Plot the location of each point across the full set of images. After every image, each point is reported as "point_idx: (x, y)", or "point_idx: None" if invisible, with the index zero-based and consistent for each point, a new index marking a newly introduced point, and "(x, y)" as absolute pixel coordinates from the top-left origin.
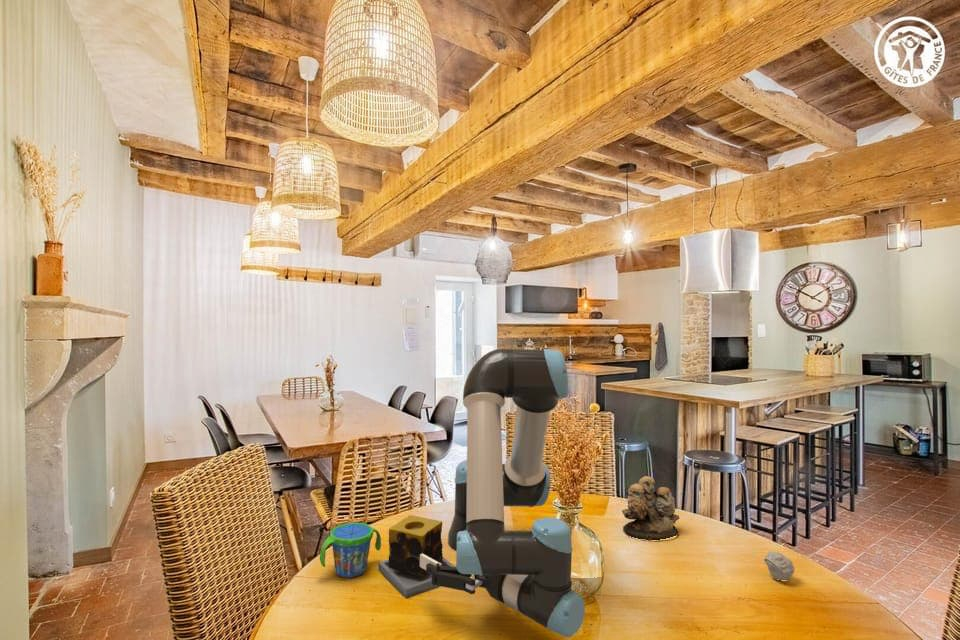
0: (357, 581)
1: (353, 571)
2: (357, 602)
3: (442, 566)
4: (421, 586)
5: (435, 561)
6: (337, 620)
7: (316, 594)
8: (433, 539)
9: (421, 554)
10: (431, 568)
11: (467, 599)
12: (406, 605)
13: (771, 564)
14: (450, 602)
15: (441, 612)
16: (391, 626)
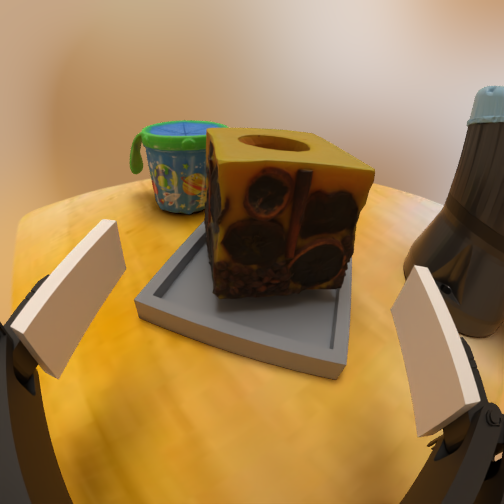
0: (159, 221)
1: (162, 201)
2: None
3: (330, 305)
4: (183, 323)
5: (47, 294)
6: (38, 259)
7: (101, 207)
8: (302, 209)
9: (105, 221)
10: (16, 309)
11: (248, 480)
12: (110, 335)
13: None
14: (190, 441)
15: (121, 441)
16: None
